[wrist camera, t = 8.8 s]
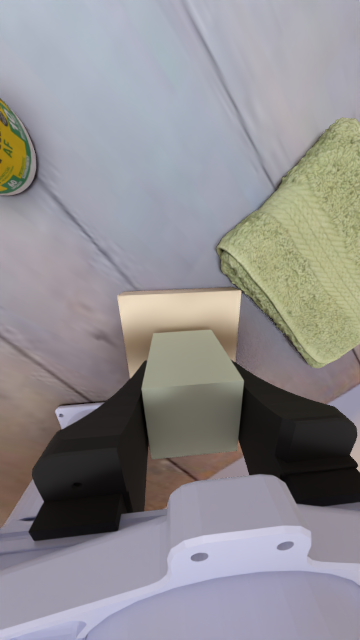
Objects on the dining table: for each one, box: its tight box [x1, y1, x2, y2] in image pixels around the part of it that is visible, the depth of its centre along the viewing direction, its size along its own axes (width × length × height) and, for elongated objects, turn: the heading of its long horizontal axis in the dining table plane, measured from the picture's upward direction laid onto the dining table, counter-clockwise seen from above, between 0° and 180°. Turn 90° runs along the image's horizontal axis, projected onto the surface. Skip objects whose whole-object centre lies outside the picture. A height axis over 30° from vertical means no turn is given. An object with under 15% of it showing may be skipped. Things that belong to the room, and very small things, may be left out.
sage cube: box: [141, 330, 244, 459], centre depth 11 cm, size 4×4×6 cm
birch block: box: [117, 287, 241, 378], centre depth 16 cm, size 10×10×2 cm
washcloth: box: [217, 118, 360, 368], centre depth 15 cm, size 13×18×3 cm
